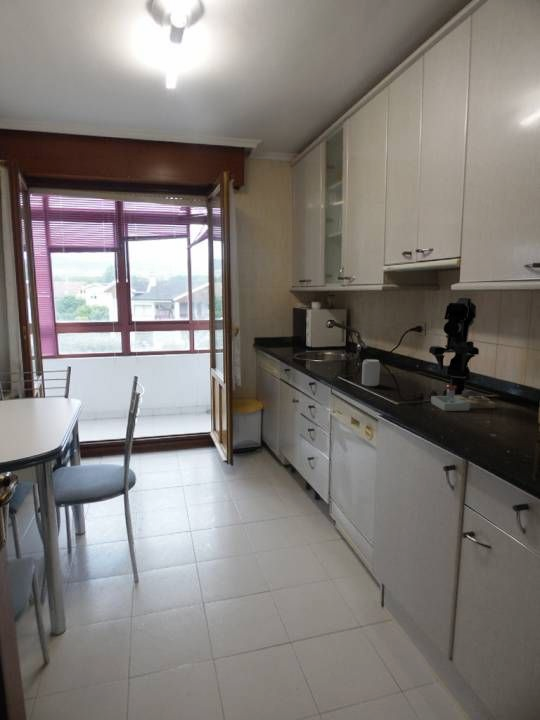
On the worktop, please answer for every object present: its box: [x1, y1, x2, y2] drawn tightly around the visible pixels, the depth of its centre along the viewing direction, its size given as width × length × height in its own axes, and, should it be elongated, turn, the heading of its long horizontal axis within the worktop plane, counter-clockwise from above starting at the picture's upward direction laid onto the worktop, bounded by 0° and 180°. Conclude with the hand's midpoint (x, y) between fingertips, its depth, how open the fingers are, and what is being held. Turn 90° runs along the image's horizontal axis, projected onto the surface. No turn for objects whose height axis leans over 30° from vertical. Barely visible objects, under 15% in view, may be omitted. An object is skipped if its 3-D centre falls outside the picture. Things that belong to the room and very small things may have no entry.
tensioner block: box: [454, 389, 496, 409], centre depth 183 cm, size 14×10×5 cm
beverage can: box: [361, 358, 381, 387], centre depth 215 cm, size 8×8×12 cm
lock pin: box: [445, 383, 457, 403], centre depth 178 cm, size 4×4×8 cm
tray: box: [430, 395, 471, 412], centre depth 178 cm, size 12×10×3 cm
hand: (452, 370), depth 187 cm, fingers open, 9 cm apart
